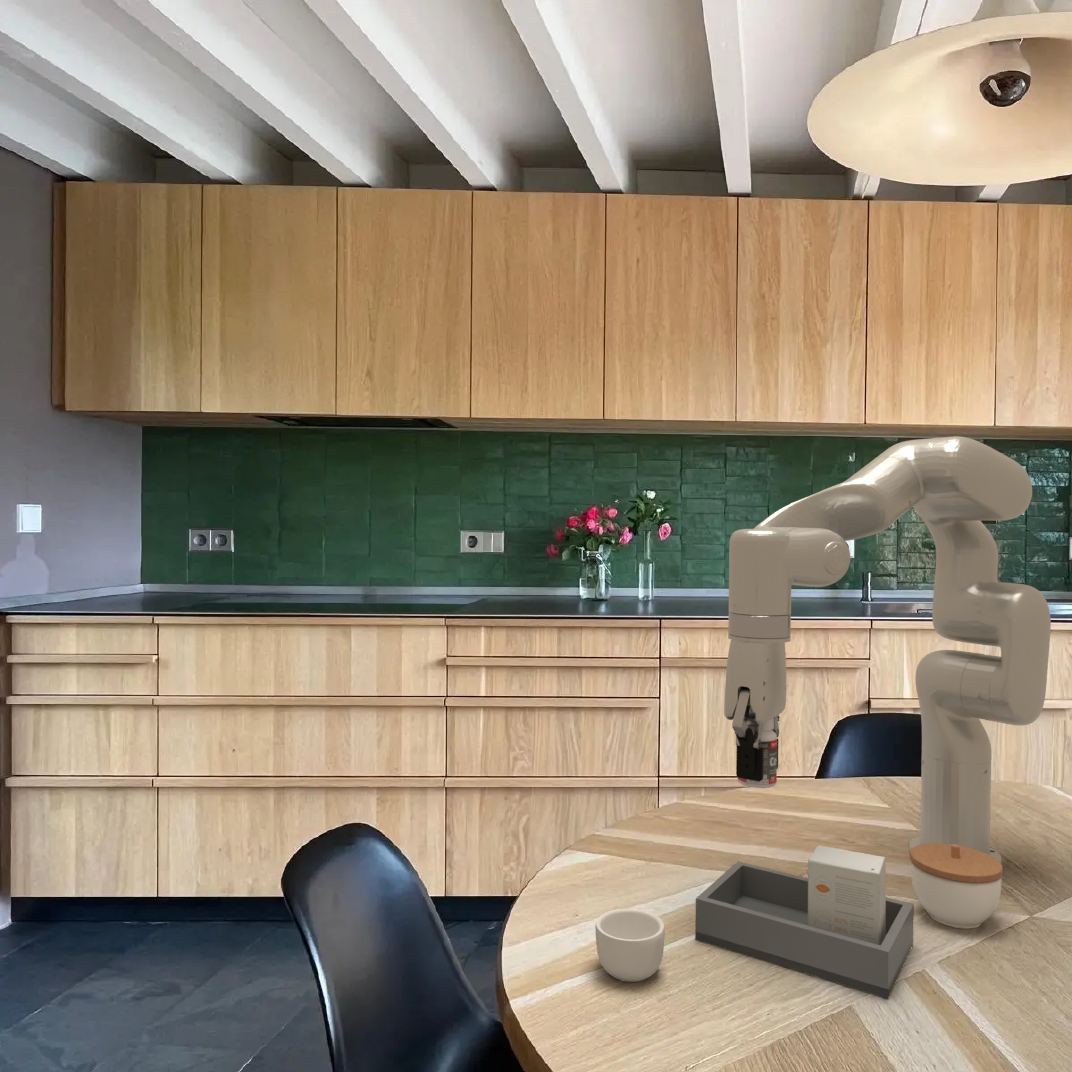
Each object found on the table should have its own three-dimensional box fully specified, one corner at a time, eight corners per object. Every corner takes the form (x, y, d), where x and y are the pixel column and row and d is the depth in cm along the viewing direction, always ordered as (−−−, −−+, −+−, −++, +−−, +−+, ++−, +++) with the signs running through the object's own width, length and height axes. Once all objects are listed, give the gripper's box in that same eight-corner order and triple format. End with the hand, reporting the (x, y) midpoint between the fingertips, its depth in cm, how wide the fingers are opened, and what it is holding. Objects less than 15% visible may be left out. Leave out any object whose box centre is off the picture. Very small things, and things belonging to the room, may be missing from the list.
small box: (886, 945, 98) (887, 856, 98) (879, 967, 93) (881, 873, 93) (815, 928, 102) (816, 843, 102) (806, 948, 97) (807, 858, 97)
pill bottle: (778, 790, 101) (778, 721, 101) (738, 787, 102) (738, 719, 102) (775, 778, 106) (775, 713, 106) (736, 776, 107) (737, 711, 107)
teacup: (639, 999, 88) (639, 948, 88) (581, 973, 93) (581, 925, 93) (686, 962, 96) (687, 915, 96) (630, 940, 101) (631, 896, 101)
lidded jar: (901, 922, 106) (902, 849, 106) (916, 892, 115) (918, 824, 115) (997, 946, 100) (998, 869, 100) (1005, 913, 109) (1006, 841, 109)
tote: (737, 897, 113) (737, 861, 113) (913, 945, 100) (913, 904, 100) (695, 939, 101) (695, 898, 101) (887, 998, 89) (888, 952, 89)
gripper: (753, 619, 113) (752, 754, 113) (703, 632, 99) (701, 785, 99) (809, 624, 109) (807, 763, 109) (765, 637, 95) (763, 797, 95)
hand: (757, 772), depth 104 cm, fingers closed on pill bottle, 4 cm apart
